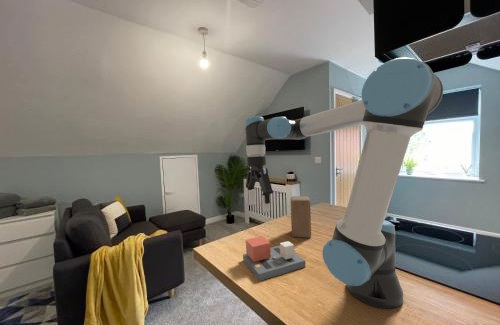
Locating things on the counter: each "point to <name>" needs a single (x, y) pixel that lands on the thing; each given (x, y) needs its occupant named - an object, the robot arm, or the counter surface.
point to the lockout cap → (258, 249)
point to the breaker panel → (273, 264)
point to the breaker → (287, 250)
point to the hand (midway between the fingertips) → (258, 208)
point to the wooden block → (300, 216)
